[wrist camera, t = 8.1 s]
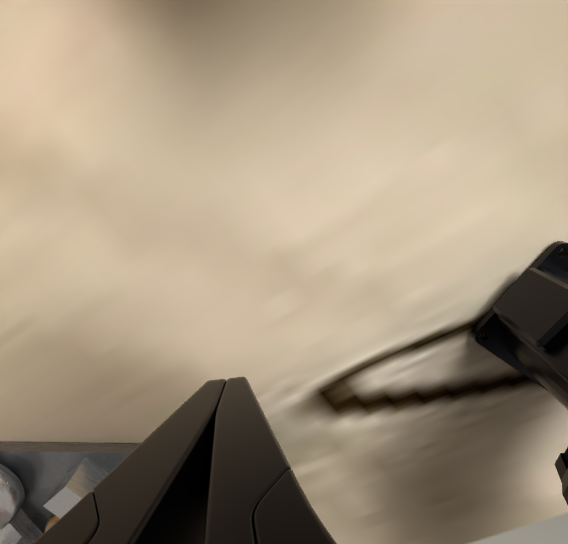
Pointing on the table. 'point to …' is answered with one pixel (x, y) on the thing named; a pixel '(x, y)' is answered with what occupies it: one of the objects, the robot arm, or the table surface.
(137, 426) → the table surface
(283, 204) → the table surface
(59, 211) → the table surface
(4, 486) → the lever
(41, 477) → the base
